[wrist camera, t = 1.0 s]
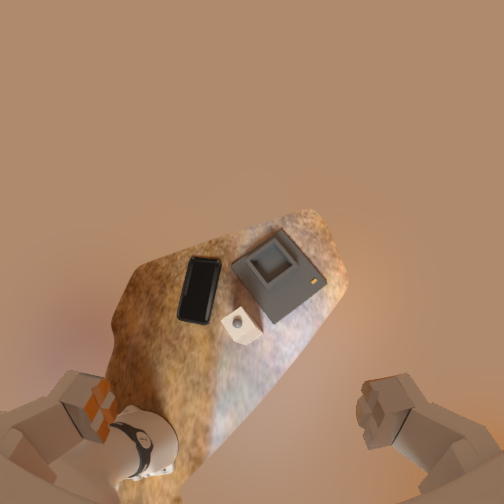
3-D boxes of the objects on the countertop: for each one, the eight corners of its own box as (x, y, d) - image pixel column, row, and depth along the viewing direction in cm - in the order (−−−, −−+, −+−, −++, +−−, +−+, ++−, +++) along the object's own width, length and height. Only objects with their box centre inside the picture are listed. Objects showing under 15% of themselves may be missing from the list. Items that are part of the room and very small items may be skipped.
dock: (273, 324, 57) (272, 321, 53) (231, 267, 63) (227, 260, 60) (326, 284, 58) (328, 278, 55) (281, 231, 65) (280, 223, 61)
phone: (221, 260, 64) (207, 325, 58) (222, 262, 65) (209, 326, 59) (190, 256, 65) (175, 319, 60) (191, 258, 66) (177, 319, 61)
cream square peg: (246, 345, 56) (233, 341, 46) (234, 328, 58) (219, 320, 47) (263, 333, 57) (255, 326, 46) (251, 316, 58) (240, 305, 48)
